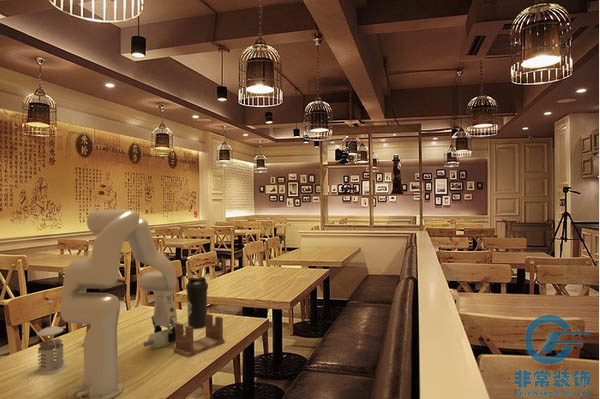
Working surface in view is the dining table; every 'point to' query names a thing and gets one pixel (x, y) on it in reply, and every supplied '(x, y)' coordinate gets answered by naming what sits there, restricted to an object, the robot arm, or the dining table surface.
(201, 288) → the water bottle
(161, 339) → the roll
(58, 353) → the french press
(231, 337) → the dining table surface
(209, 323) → the holder
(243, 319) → the dining table surface
